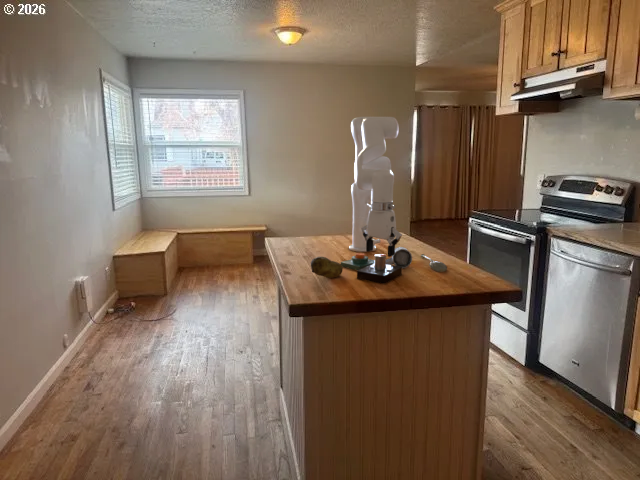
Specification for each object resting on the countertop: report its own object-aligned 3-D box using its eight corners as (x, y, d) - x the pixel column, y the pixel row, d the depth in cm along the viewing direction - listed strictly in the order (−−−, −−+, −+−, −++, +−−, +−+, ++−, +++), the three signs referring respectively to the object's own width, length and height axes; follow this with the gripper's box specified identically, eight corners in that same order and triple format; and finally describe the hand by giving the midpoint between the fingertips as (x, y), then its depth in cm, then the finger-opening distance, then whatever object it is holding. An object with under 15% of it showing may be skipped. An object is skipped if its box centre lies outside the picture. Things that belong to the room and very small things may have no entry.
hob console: (375, 270, 169) (375, 262, 168) (401, 274, 162) (402, 266, 162) (356, 278, 157) (357, 270, 157) (384, 284, 151) (384, 275, 151)
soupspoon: (432, 273, 166) (449, 274, 167) (433, 265, 166) (450, 265, 166) (415, 257, 188) (430, 257, 188) (416, 249, 187) (431, 250, 187)
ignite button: (359, 256, 177) (359, 252, 177) (366, 258, 174) (366, 253, 174) (353, 258, 174) (353, 253, 174) (360, 259, 172) (360, 255, 172)
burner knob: (373, 269, 158) (373, 255, 157) (376, 266, 162) (376, 252, 161) (383, 270, 157) (384, 256, 156) (386, 268, 160) (387, 253, 159)
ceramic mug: (409, 263, 179) (409, 244, 177) (412, 268, 170) (412, 249, 169) (382, 263, 179) (383, 245, 178) (384, 268, 171) (384, 249, 170)
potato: (348, 279, 157) (348, 257, 156) (313, 282, 153) (313, 260, 152) (340, 272, 165) (340, 252, 163) (307, 275, 161) (307, 254, 160)
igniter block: (359, 260, 183) (360, 252, 182) (379, 265, 176) (379, 256, 175) (340, 266, 174) (340, 257, 174) (359, 271, 167) (359, 262, 167)
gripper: (408, 208, 151) (406, 256, 155) (369, 202, 163) (367, 247, 167) (395, 210, 146) (393, 260, 150) (356, 205, 158) (355, 250, 162)
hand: (380, 253), depth 159 cm, fingers open, 9 cm apart
